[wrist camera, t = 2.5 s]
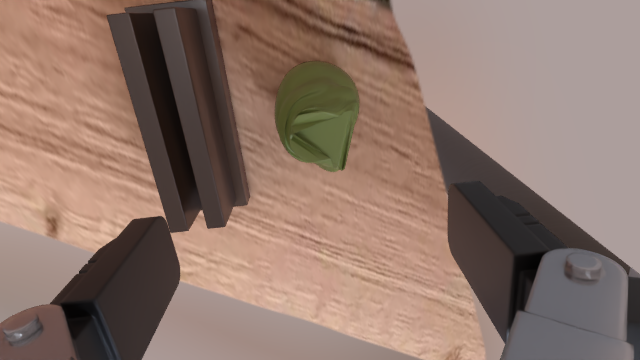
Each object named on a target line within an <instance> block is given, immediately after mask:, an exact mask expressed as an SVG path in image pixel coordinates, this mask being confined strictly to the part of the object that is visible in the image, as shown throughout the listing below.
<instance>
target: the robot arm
mask: <svg viewBox="0 0 640 360" xmlns="http://www.w3.org/2000/svg"><path fill="white" fill-rule="evenodd" d="M448 242H449V247H450V251H451V253H452V255H453V257H454V259H455V261H456V262H457V264H458V266H459V267H460V269H461V271H462V272H463V274H464V276H465V277H466V279H467V281H468V282H469V284H470V286H471V288H472V289H473V291H474V293H475V294H476V296H477V298H478V299H479V301H480V302H481V304H482V306H483V308H484V309H485V311H486V312H487V314H488V316H489V318H490V319H491V321H492V323H493V324H494V326H495V328H496V329H497V331H498V333H499V334H500V336H501V338H502V339H503V341H504V343H505V347H504V350H503V353H502V355H501V358H500V360H640V278H637V277H629V276H628V275H627V273H626V271H625V270H624V269H623V267H622V266H620V265H619V264H618V263H617V262H615V261H614V260H612V259H610V258H608V257H606V256H604V255H601V254H598V253H595V252H592V251H588V250H583V249H575V248H568V247H567V246H565V245H564V244H563V243H562V242H561V241H560V240H559V239H558V238H557V237H555V236H554V235H553V234H552V233H551V232H550V231H549V230H548V229H547V228H545V227H544V226H543V225H542V224H539V221H538V220H536V219H535V218H534V217H533V216H532V215H530V213H529V212H528V211H526V210H525V209H524V208H523V207H522V206H521V205H520V204H519V203H517V202H514V201H512V200H510V199H508V198H505V197H503V196H495V195H494V194H493V193H492V192H491V191H490V190H488V189H487V188H486V187H485V186H484V185H483V184H482V183H481V182H480V181H472V182H463V183H454V184H451V185H450V186H449V190H448ZM179 280H180V265H179V261H178V257H177V254H176V251H175V247H174V244H173V241H172V238H171V234H170V231H169V228H168V224H167V222H166V220H165V219H164V218H163V217H162V216H158V217H149V218H140V219H134V220H132V221H131V222H130V223H129V224H128V226H127V227H126V228H125V229H124V230H123V231H122V232H121V234H120V235H119V236H118V237H117V238H115V239H114V240H112V241H111V242H109V243H108V244H106V245H105V246H103V247H102V248H100V249H99V250H98V251H97V252H96V253H95V254H94V255H93V257H92V258H91V259H90V260H89V261H88V264H85V265H84V267H83V268H82V269H81V270H80V271H79V274H77V275H75V276H74V278H73V279H72V280H71V281H70V282H69V283H68V284H67V285H66V286H65V288H64V289H63V290H62V291H61V292H60V293H59V294H58V295H57V296H56V297H55V299H54V300H53V301H52V302H51V303H50V304H47V305H41V306H36V307H32V308H29V309H26V310H24V311H21V312H19V313H17V314H15V315H13V316H11V317H9V318H8V319H6V320H4V321H3V322H1V323H0V360H142V358H143V355H144V353H145V351H146V349H147V347H148V345H149V343H150V341H151V339H152V337H153V335H154V333H155V331H156V329H157V327H158V325H159V323H160V321H161V318H162V317H163V315H164V313H165V311H166V309H167V307H168V305H169V303H170V301H171V299H172V296H173V295H174V292H175V290H176V288H177V286H178V284H179Z"/></svg>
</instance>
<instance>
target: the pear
mask: <svg viewBox="0 0 640 360" xmlns="http://www.w3.org/2000/svg"><path fill="white" fill-rule="evenodd" d="M358 113H359V95H358V91H357V88H356V86H355V83H354V82H353V80H352V79H351V77H350V76H349V75H348V74H347V73H346V72H344V71H343V70H342V69H340V68H338V67H337V66H335V65H332V64H329V63H326V62H321V61H310V62H305V63H302V64H299V65H297V66H295V67H294V68H292V69H291V70H290V71H289V72H288V73H287V74H286V76H285V77H284V78H283V80H282V82H281V84H280V87H279V89H278V93H277V97H276V103H275V123H276V128H277V131H278V134H279V137H280V140H281V142H282V144H283V146H284V147H285V149H286V150H287V151H288V153H289V154H290V155H292V156H293V157H294V158H296V159H297V160H299V161H302V162H305V163H315V164H317V165H318V166H319V167H321V168H322V169H324V170H326V171H329V172H336V171H338V170H341V171H342V170H344V169H345V165H346V161H347V156H348V151H349V147H350V142H351V138H352V133H353V128H354V125H355V123H356V120H357V117H358Z"/></svg>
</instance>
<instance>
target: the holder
mask: <svg viewBox="0 0 640 360" xmlns="http://www.w3.org/2000/svg"><path fill="white" fill-rule="evenodd" d="M125 12H126V13H119V14H111V15H107V19H108V22H109V26H110V29H111V32H112V36H113V39H114V43H115V46H116V49H117V53H118V56H119V60H120V63H121V66H122V70H123V73H124V77H125V80H126V83H127V87H128V90H129V93H130V97H131V100H132V104H133V107H134V110H135V114H136V117H137V121H138V124H139V127H140V131H141V134H142V138H143V141H144V144H145V148H146V151H147V155H148V158H149V161H150V165H151V168H152V172H153V175H154V178H155V182H156V185H157V189H158V192H159V195H160V199H161V202H162V205H163V209H164V212H165V216H166V219H167V222H168V226H169V229H170V232H171V233H173V232H183V231H189V229H190V227H191V226H192V224H193V222H194V220H195V219H196V217H197V215H198V213H199V212H200V210H203V213H204V217H205V221H206V225H207V228H208V229H209V228H219V227H225V226H226V224H227V221H228V219H229V216H230V214H231V212H232V209H233V207H234V206H244V205H247V204H248V201H249V198H250V194H249V189H248V184H247V179H246V173H245V168H244V163H243V158H242V153H241V148H240V143H239V138H238V133H237V128H236V123H235V117H234V112H233V107H232V102H231V97H230V92H229V87H228V82H227V77H226V72H225V66H224V61H223V56H222V51H221V46H220V41H219V36H218V31H217V26H216V21H215V16H214V10H213V5H212V0H185V1H177V2H168V3H160V4H152V5H143V6H135V7H127V8H125Z"/></svg>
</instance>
